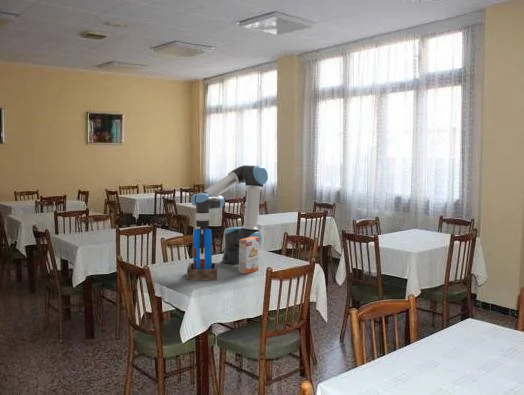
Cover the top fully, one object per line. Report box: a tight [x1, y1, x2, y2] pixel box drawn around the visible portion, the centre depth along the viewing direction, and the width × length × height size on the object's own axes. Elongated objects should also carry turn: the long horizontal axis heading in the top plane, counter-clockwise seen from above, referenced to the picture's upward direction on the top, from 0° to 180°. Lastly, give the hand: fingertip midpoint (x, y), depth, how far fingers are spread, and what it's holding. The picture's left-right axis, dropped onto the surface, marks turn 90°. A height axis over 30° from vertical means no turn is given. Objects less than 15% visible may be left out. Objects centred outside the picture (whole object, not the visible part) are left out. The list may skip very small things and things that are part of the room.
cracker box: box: [238, 237, 260, 275], centre depth 315 cm, size 14×6×21 cm, turn 147°
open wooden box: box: [186, 262, 218, 281], centre depth 304 cm, size 17×17×6 cm
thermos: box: [192, 228, 213, 269], centre depth 302 cm, size 11×11×25 cm
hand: (202, 256), depth 303 cm, fingers closed on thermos, 11 cm apart
